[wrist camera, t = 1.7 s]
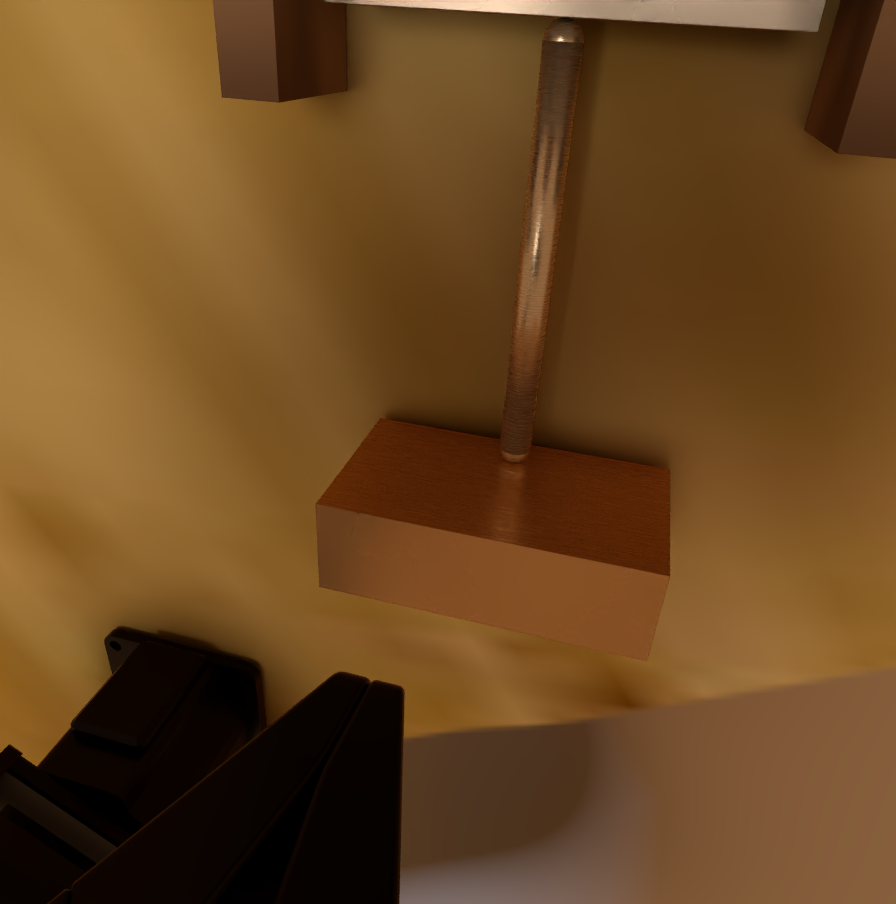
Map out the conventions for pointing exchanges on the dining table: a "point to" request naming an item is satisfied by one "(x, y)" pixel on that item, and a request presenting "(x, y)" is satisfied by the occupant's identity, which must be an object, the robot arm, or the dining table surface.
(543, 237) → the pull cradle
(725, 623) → the dining table surface
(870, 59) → the dark brown square tray
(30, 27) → the dining table surface
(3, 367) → the dining table surface
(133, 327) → the dining table surface
